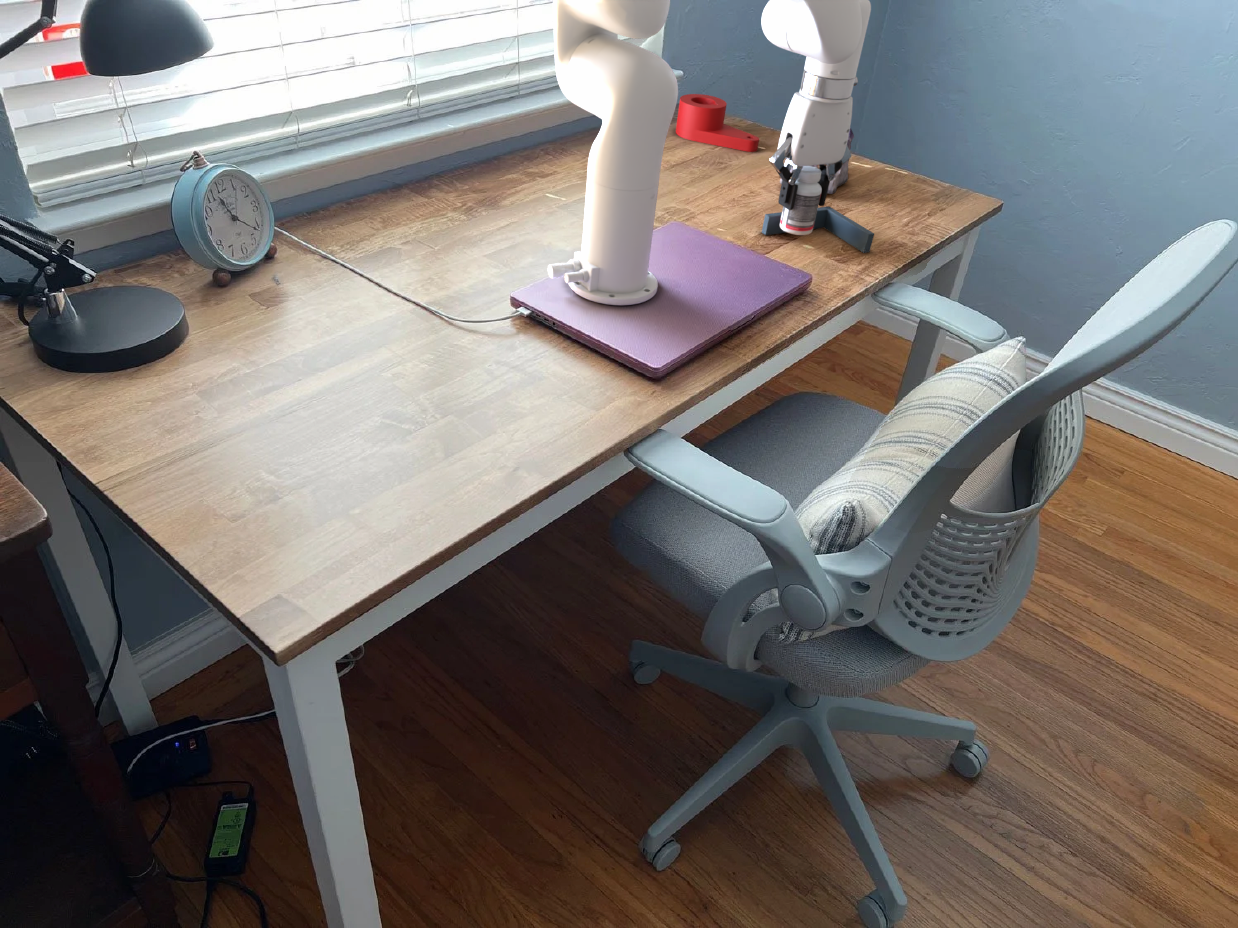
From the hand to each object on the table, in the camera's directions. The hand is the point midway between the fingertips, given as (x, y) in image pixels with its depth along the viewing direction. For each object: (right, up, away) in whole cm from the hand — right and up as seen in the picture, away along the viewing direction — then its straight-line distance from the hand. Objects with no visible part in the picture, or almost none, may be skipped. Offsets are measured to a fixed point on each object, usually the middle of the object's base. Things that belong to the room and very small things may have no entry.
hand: (801, 203), depth 150 cm
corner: (+4, -5, +4) cm, 8 cm away
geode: (+8, +12, +28) cm, 32 cm away
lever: (-9, +25, +43) cm, 50 cm away
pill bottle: (0, -4, +3) cm, 4 cm away
